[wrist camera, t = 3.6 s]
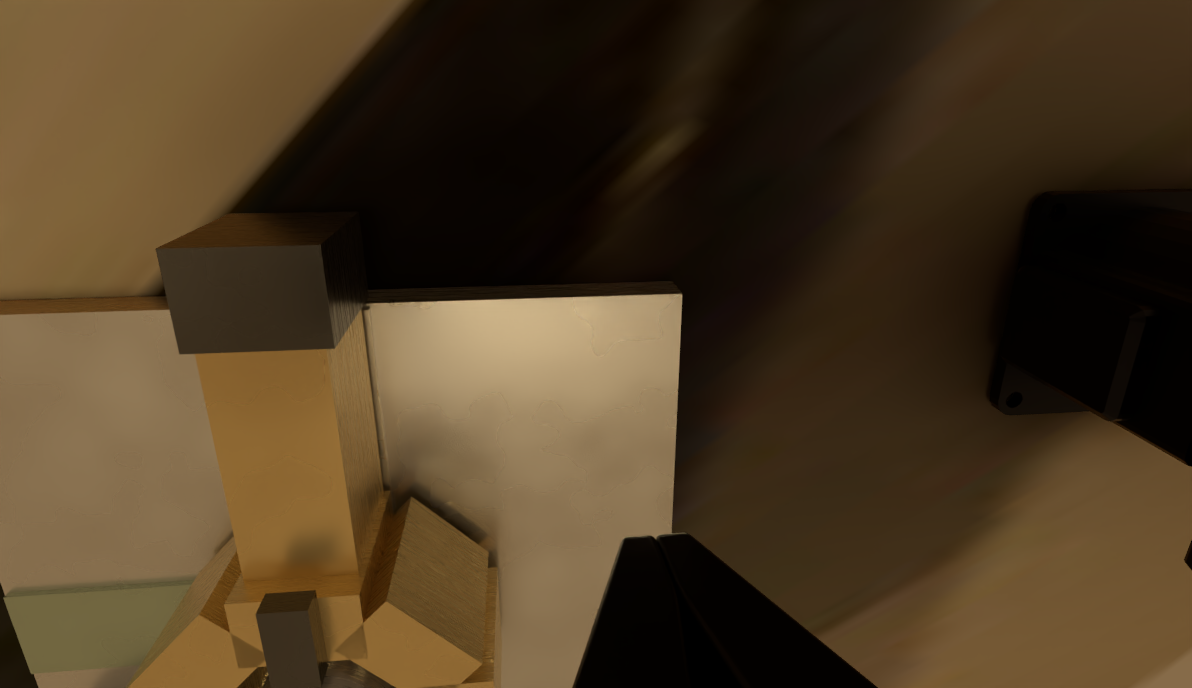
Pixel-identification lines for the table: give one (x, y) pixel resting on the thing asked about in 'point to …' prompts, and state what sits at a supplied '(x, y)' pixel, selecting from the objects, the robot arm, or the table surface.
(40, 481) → the post base
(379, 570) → the octagonal ring with handle
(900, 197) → the table surface
